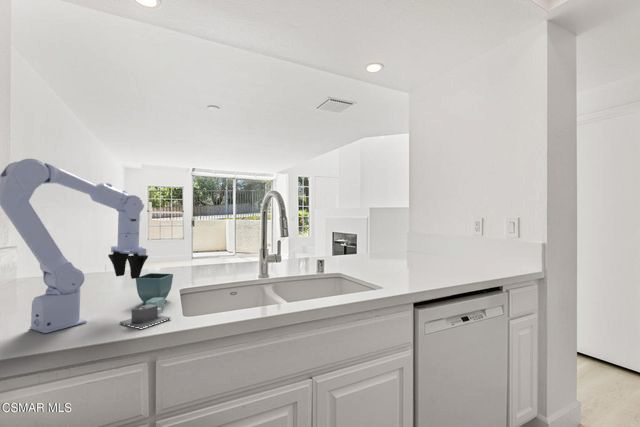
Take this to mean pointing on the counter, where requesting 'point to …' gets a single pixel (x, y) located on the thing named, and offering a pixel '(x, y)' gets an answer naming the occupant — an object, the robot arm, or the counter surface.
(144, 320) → the white-capped grey post
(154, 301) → the teal plug
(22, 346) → the counter surface
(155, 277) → the flower pot
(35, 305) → the robot arm
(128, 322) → the coaster
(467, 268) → the counter surface
